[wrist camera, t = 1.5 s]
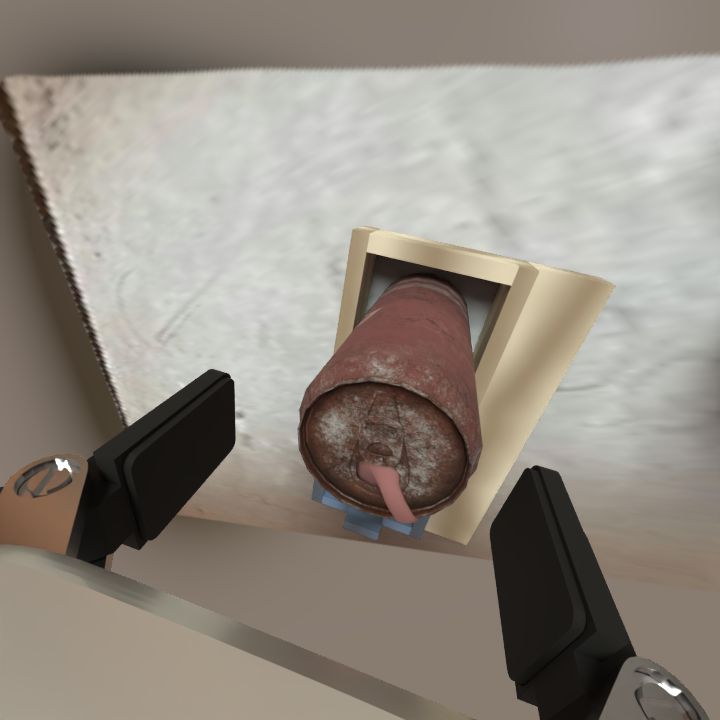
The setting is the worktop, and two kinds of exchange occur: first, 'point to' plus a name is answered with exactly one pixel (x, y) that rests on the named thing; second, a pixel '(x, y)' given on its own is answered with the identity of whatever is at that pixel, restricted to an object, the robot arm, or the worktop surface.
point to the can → (397, 406)
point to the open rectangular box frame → (484, 359)
